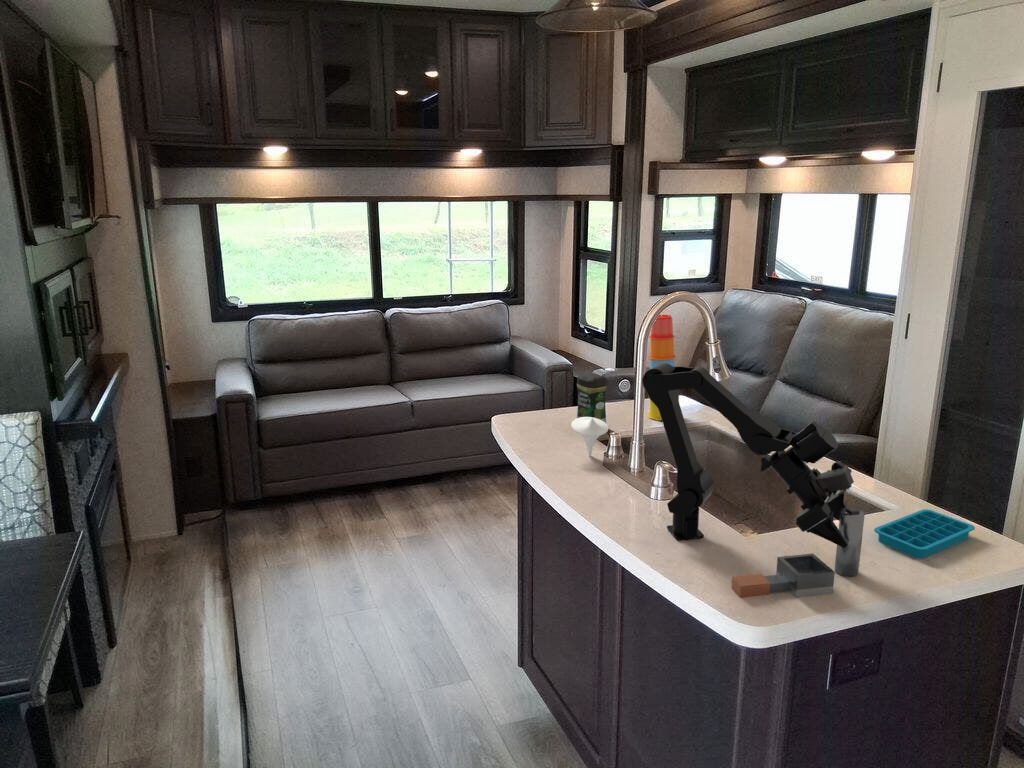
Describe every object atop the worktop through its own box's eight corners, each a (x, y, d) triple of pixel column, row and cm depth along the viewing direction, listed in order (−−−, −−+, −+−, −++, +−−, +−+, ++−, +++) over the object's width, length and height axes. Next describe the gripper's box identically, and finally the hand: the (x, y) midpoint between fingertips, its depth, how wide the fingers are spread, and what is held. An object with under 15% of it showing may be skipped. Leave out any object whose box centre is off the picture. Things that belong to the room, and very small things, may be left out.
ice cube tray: (975, 539, 164) (977, 526, 163) (920, 563, 154) (922, 550, 153) (924, 520, 174) (926, 508, 173) (869, 541, 164) (871, 529, 163)
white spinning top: (614, 458, 216) (615, 419, 213) (581, 464, 212) (581, 424, 209) (597, 447, 225) (597, 409, 222) (565, 452, 221) (565, 414, 218)
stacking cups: (657, 422, 247) (660, 319, 238) (642, 414, 256) (644, 314, 247) (684, 419, 250) (688, 317, 241) (668, 410, 259) (671, 312, 250)
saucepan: (727, 582, 148) (728, 562, 147) (811, 573, 150) (812, 553, 149) (744, 603, 140) (746, 581, 139) (832, 593, 143) (834, 571, 142)
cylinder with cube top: (830, 567, 153) (836, 505, 149) (849, 565, 153) (856, 503, 150) (842, 578, 148) (849, 514, 145) (862, 576, 149) (869, 512, 145)
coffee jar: (572, 427, 244) (572, 372, 239) (591, 422, 248) (591, 368, 244) (591, 435, 236) (591, 378, 231) (610, 430, 240) (611, 374, 236)
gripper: (818, 468, 140) (877, 535, 137) (838, 440, 155) (892, 500, 152) (772, 498, 146) (828, 564, 143) (796, 468, 161) (847, 527, 158)
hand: (850, 537), depth 149 cm, fingers open, 9 cm apart
